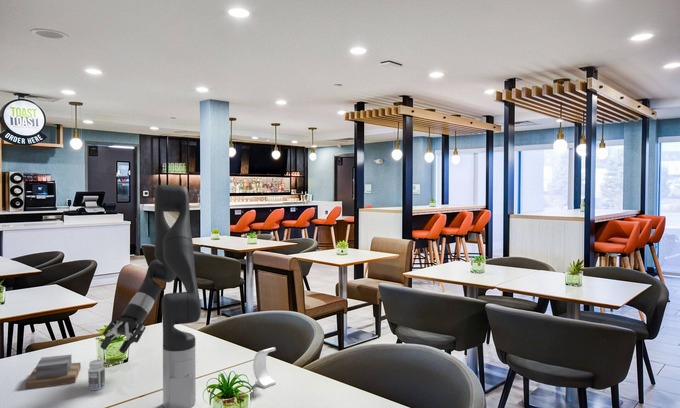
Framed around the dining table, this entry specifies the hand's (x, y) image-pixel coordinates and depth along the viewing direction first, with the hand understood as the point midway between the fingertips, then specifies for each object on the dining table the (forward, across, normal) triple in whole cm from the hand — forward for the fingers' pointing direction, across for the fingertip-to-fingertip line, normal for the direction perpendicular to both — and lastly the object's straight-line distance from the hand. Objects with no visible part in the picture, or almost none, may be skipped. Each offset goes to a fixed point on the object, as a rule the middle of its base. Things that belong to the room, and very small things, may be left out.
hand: (111, 350), depth 160 cm
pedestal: (+12, -20, +3) cm, 23 cm away
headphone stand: (-6, +47, +21) cm, 52 cm away
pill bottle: (+12, 0, +3) cm, 12 cm away
